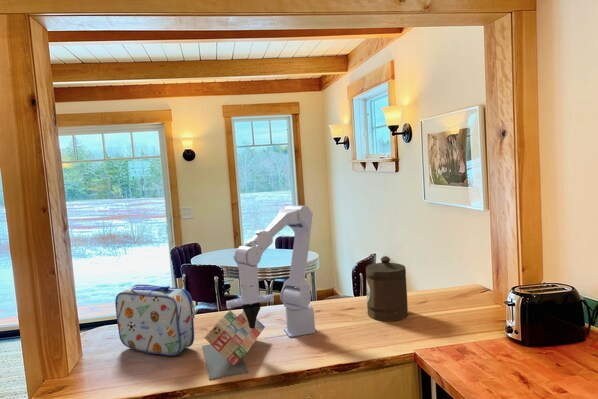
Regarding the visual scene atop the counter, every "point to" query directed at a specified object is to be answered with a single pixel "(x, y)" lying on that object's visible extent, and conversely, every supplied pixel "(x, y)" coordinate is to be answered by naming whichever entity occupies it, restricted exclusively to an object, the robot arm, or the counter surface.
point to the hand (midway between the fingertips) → (252, 327)
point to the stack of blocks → (233, 336)
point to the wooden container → (386, 290)
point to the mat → (221, 364)
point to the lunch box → (155, 319)
